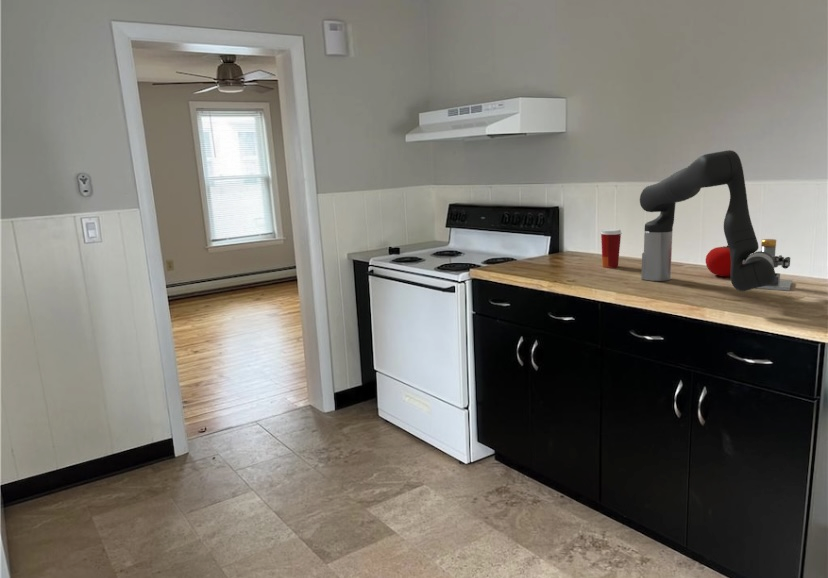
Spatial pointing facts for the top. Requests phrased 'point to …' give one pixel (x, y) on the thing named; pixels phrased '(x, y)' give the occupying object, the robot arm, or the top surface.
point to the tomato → (719, 261)
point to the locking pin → (768, 246)
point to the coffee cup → (610, 247)
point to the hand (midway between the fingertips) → (764, 258)
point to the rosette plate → (778, 284)
